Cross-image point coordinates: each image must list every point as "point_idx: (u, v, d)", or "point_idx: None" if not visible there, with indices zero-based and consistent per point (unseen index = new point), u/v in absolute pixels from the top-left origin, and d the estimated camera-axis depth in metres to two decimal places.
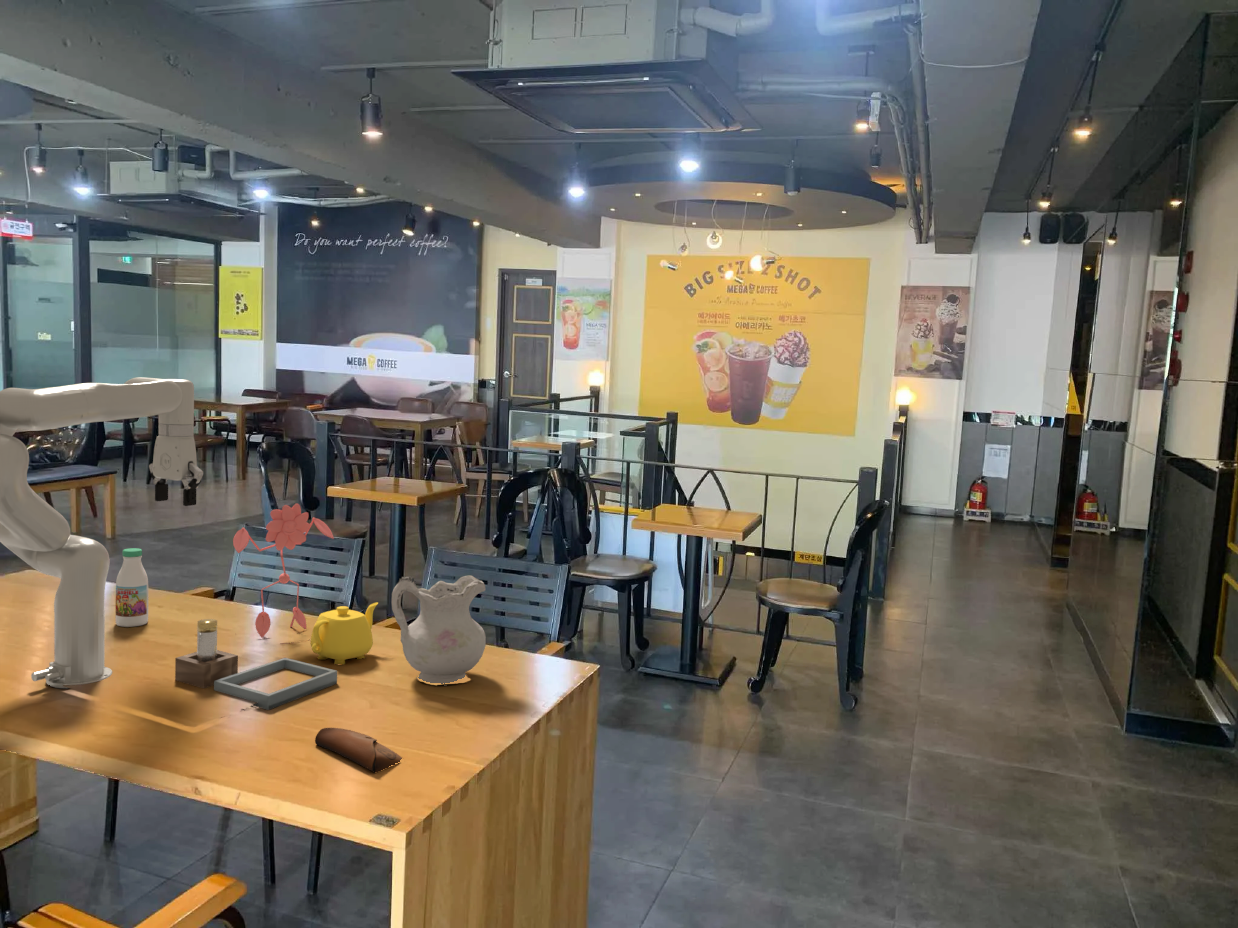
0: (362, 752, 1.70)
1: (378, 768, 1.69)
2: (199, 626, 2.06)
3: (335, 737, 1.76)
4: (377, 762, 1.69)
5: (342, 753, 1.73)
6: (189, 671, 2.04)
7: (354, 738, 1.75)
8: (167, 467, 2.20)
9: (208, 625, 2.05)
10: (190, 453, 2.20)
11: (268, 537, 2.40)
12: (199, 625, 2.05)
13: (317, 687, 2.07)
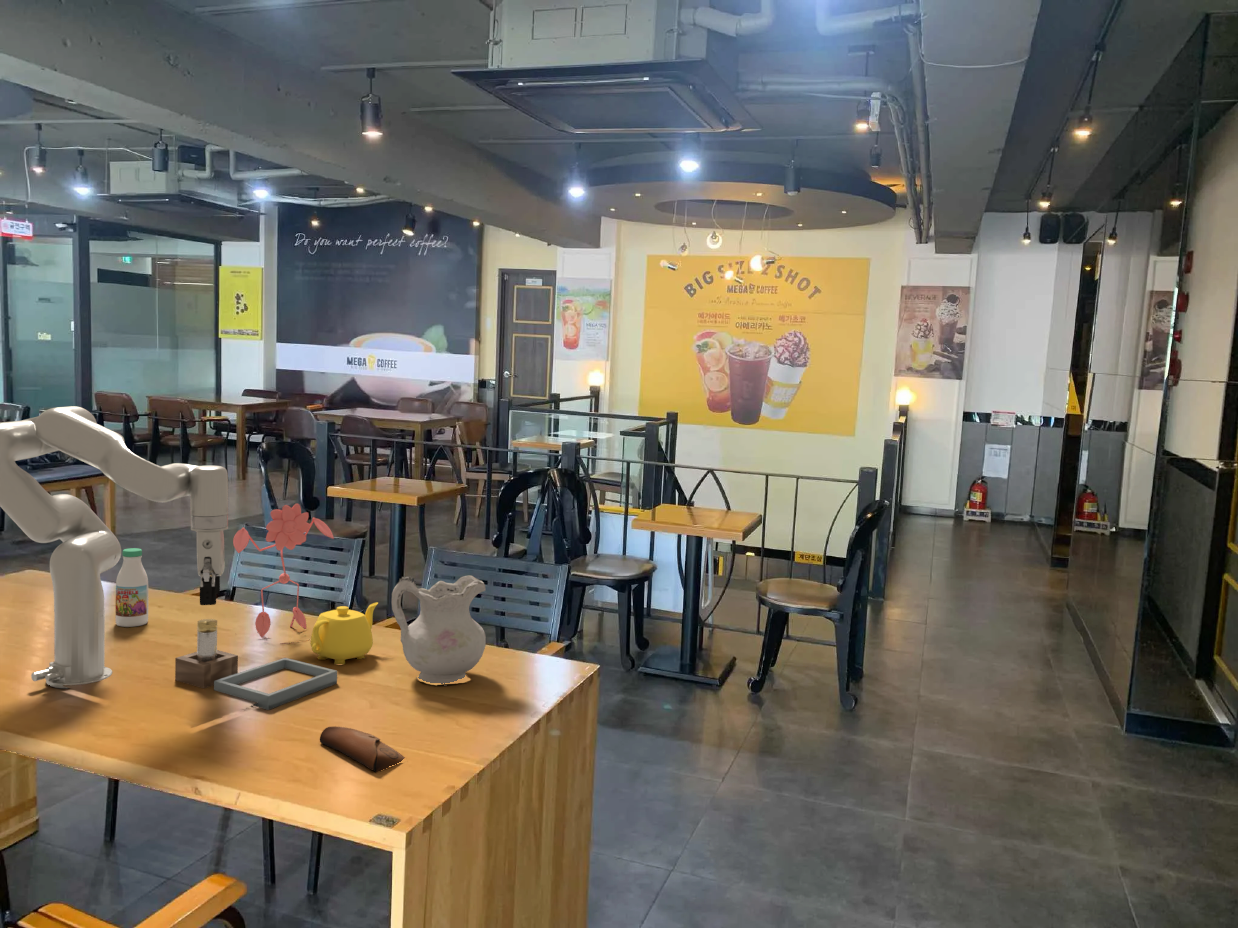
0: (364, 751, 1.71)
1: (380, 767, 1.69)
2: (199, 626, 2.06)
3: (338, 736, 1.77)
4: (378, 761, 1.69)
5: (345, 752, 1.74)
6: (189, 671, 2.04)
7: (357, 737, 1.75)
8: (223, 558, 2.07)
9: (208, 625, 2.05)
10: None
11: (268, 537, 2.40)
12: (199, 625, 2.05)
13: (317, 687, 2.07)
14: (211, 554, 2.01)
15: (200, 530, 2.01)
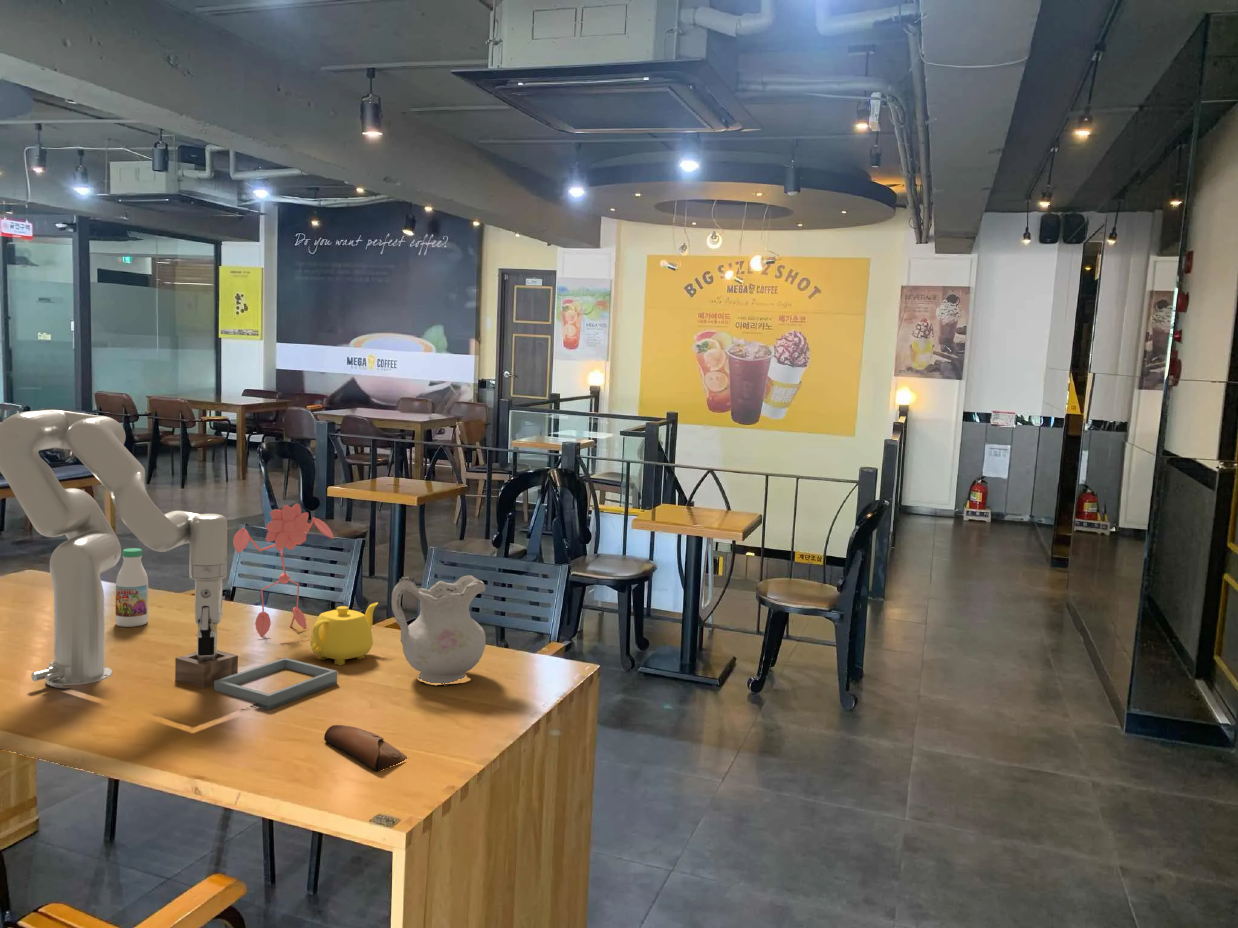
0: (366, 750, 1.71)
1: (382, 766, 1.70)
2: None
3: (342, 734, 1.77)
4: (380, 761, 1.69)
5: (348, 751, 1.74)
6: (189, 671, 2.04)
7: (360, 736, 1.76)
8: (221, 606, 2.08)
9: None
10: None
11: (268, 537, 2.40)
12: None
13: (317, 687, 2.07)
14: (209, 607, 2.02)
15: (199, 579, 2.02)
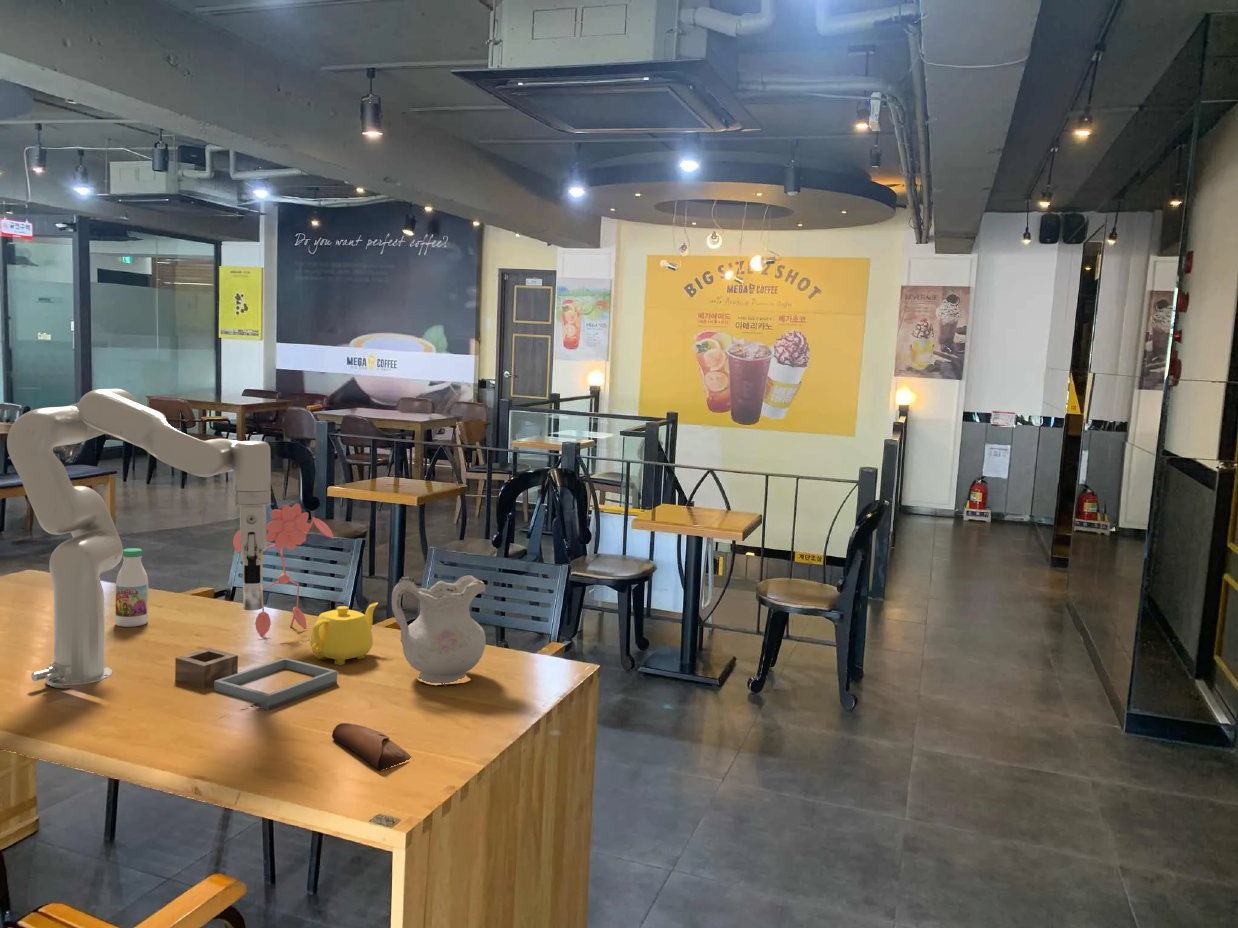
0: (370, 748, 1.72)
1: (384, 765, 1.70)
2: None
3: (348, 733, 1.78)
4: (383, 759, 1.70)
5: (353, 749, 1.75)
6: (189, 671, 2.04)
7: (366, 734, 1.76)
8: (266, 534, 2.06)
9: None
10: None
11: (268, 537, 2.40)
12: None
13: (317, 687, 2.07)
14: (255, 533, 2.00)
15: (244, 505, 2.00)
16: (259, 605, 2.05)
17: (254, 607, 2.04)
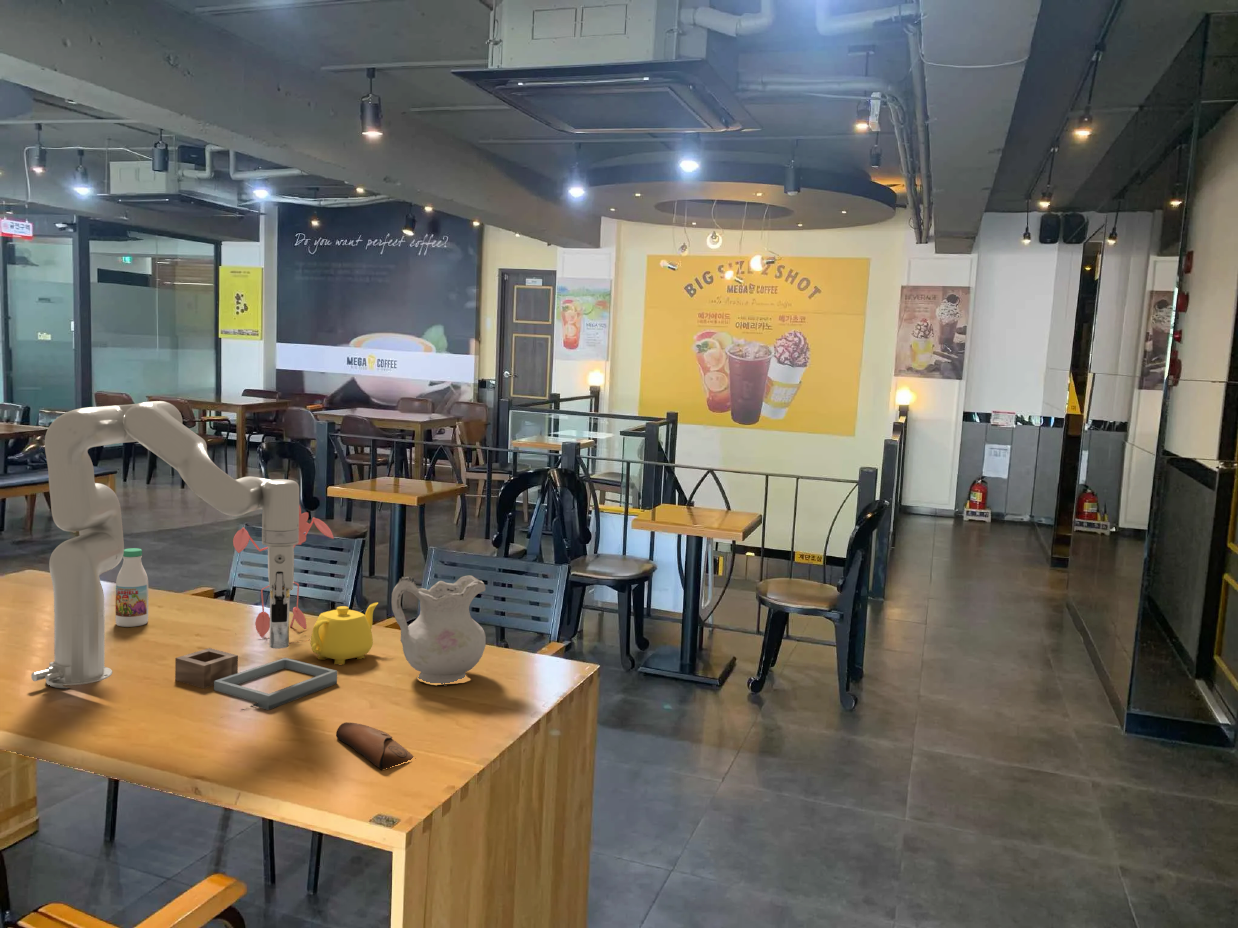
0: (372, 748, 1.72)
1: (386, 765, 1.70)
2: (272, 592, 2.03)
3: (352, 732, 1.79)
4: (385, 759, 1.70)
5: (356, 748, 1.76)
6: (189, 671, 2.04)
7: (369, 734, 1.77)
8: None
9: None
10: None
11: None
12: (272, 591, 2.03)
13: (317, 687, 2.07)
14: (283, 573, 2.00)
15: (272, 544, 2.00)
16: (285, 643, 2.05)
17: (280, 645, 2.05)
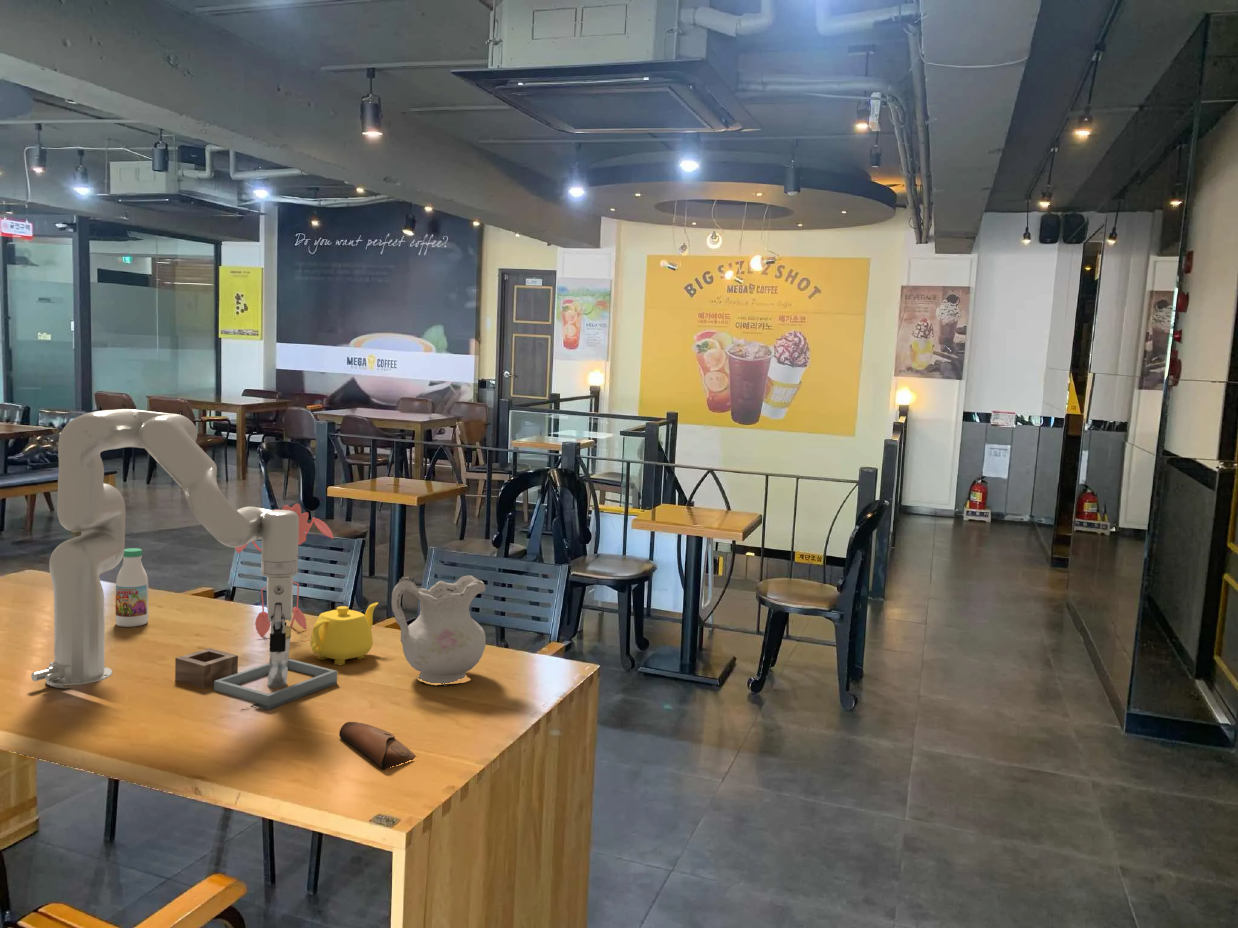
0: (374, 747, 1.73)
1: (388, 765, 1.71)
2: None
3: (355, 731, 1.79)
4: (387, 759, 1.70)
5: (359, 748, 1.76)
6: (189, 671, 2.04)
7: (371, 733, 1.77)
8: (292, 603, 2.07)
9: None
10: None
11: None
12: None
13: (317, 687, 2.07)
14: (282, 601, 2.01)
15: (271, 575, 2.01)
16: (283, 683, 2.06)
17: (278, 685, 2.05)
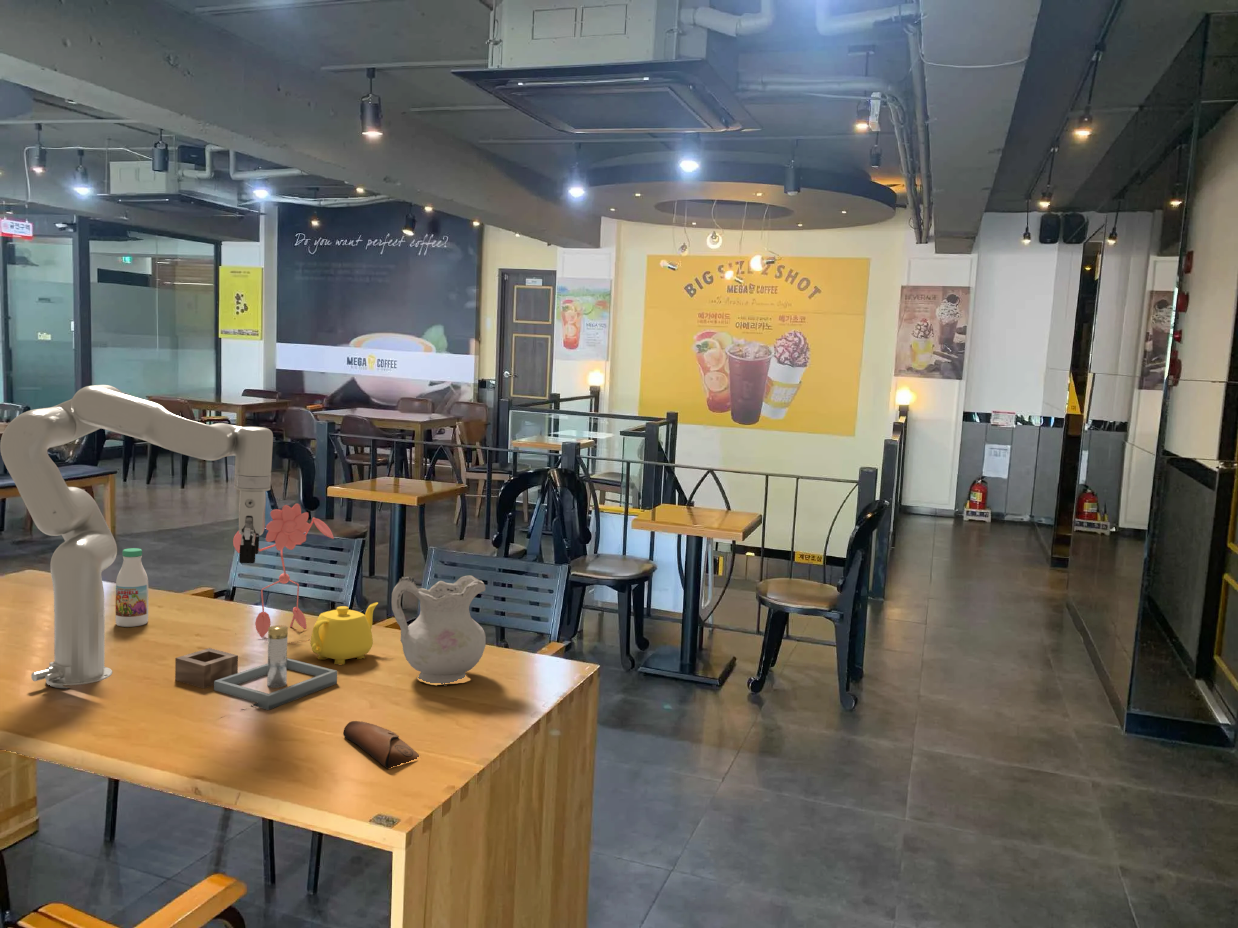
0: (378, 747, 1.73)
1: (392, 764, 1.71)
2: (270, 632, 2.04)
3: (359, 730, 1.80)
4: (390, 758, 1.71)
5: (363, 747, 1.76)
6: (189, 671, 2.04)
7: (375, 733, 1.77)
8: (264, 519, 2.11)
9: (279, 632, 2.04)
10: None
11: (268, 537, 2.40)
12: (270, 631, 2.04)
13: (317, 687, 2.07)
14: (253, 513, 2.05)
15: (243, 489, 2.05)
16: (283, 683, 2.06)
17: (278, 685, 2.06)
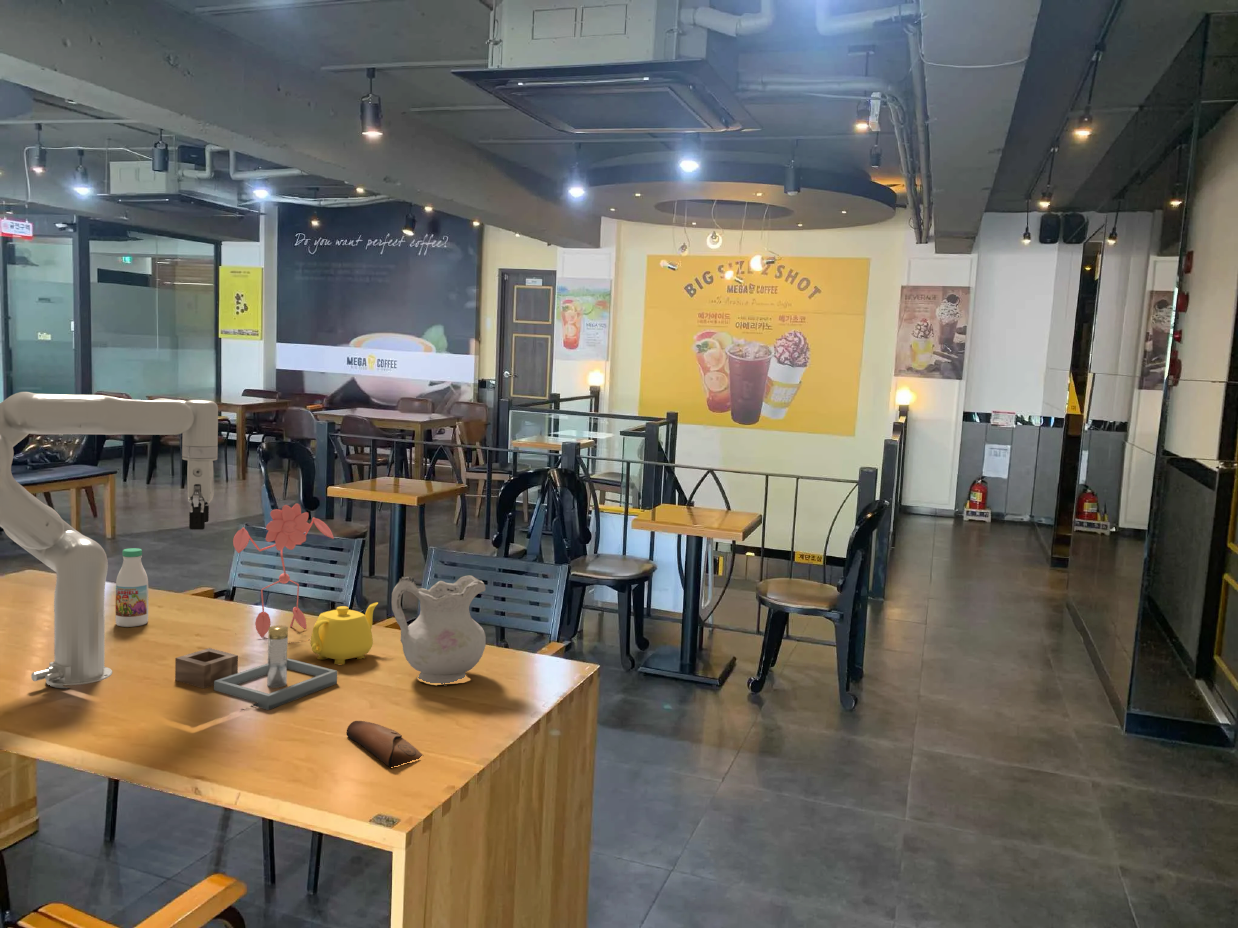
0: (381, 746, 1.73)
1: (395, 763, 1.71)
2: (270, 633, 2.04)
3: (362, 730, 1.80)
4: (394, 757, 1.71)
5: (366, 746, 1.77)
6: (189, 671, 2.04)
7: (378, 732, 1.78)
8: (212, 488, 2.21)
9: (279, 632, 2.04)
10: None
11: (268, 537, 2.40)
12: (270, 632, 2.04)
13: (317, 687, 2.07)
14: (201, 482, 2.15)
15: (191, 459, 2.15)
16: (283, 683, 2.06)
17: (278, 685, 2.06)
